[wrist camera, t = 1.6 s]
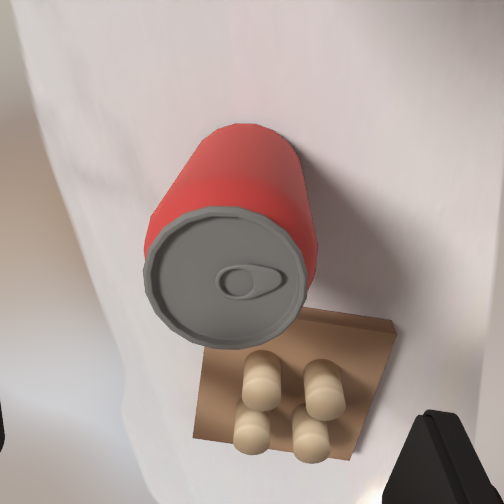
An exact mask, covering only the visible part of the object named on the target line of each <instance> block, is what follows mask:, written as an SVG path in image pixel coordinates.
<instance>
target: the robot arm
mask: <svg viewBox="0 0 504 504" xmlns="http://www.w3.org/2000/svg"><path fill="white" fill-rule="evenodd" d="M4 440H5V434H4V426H3V418H2V411H1V404H0V452H1V450H2V447H3V444H4ZM382 504H504V503H503V500H502V498H501V496H500V495H499V493H498V491H497V490H496V488H495V487H494V486H492V485H491V483H490V481H489V478H488V476H487V474H486V472H485V470H484V468H483V466H482V464H481V462H480V460H479V458H478V456H477V454H476V452H475V450H474V448H473V446H472V444H471V441H470V439H469V437H468V435H467V433H466V431H465V429H464V427H463V425H462V423H461V421H460V419H459V417H458V416H457V415H456V414H455V413H450V412H443V411H436V410H426V411H425V413H424V414H423V415H418V416H417V417H416V419H415V421H414V423H413V425H412V427H411V430H410V432H409V434H408V437H407V439H406V441H405V443H404V446H403V448H402V450H401V452H400V455H399V457H398V459H397V462H396V464H395V466H394V468H393V471H392V473H391V475H390V477H389V480H388V482H387V484H386V487H385V489H384V491H383V495H382Z"/></svg>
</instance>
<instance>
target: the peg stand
mask: <svg viewBox="0 0 504 504" xmlns="http://www.w3.org/2000/svg"><path fill="white" fill-rule="evenodd" d="M396 336H397V333H396V331H395V328H394V326H393V323H392V321H391V320H384V319H378V318H371V317H365V316H358V315H352V314H345V313H339V312H332V311H326V310H319V309H313V308H306V307H302V309H301V311H300V313H299V316H298V318H297V319H296V320H295V321H294V322H293V323H292V324H291V325H290V326H289V327H288V328H287V329H286V330H285V331H284V332H283V333H282V334H281V335H279V336H277V337H275V338H274V339H272V340H270V341H268V342H266V343H264V344H262V345H259V346H255V347H250V348H246V349H241V350H223V349H212V348H209V347H205V348H204V356H203V363H202V371H201V379H200V386H199V394H198V401H197V409H196V416H195V424H194V432H193V438H196V439H203V440H210V441H217V442H224V443H231V444H234V446H235V448H236V449H237V450H238V451H240V452H242V453H244V454H248V455H257V454H261V453H263V452H265V451H266V450H267V449H272V450H279V451H286V452H293V453H294V455H295V457H296V458H297V459H298V460H300V461H302V462H305V463H310V464H313V463H319V462H322V461H324V460H325V459H327V458H334V459H341V460H348V461H350V458H351V456H352V453H353V450H354V448H355V445H356V442H357V440H358V437H359V434H360V432H361V429H362V426H363V424H364V421H365V418H366V416H367V413H368V410H369V408H370V405H371V402H372V400H373V397H374V394H375V392H376V389H377V386H378V384H379V381H380V378H381V376H382V373H383V370H384V368H385V365H386V362H387V360H388V357H389V354H390V352H391V349H392V346H393V344H394V341H395V338H396Z"/></svg>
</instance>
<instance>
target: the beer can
mask: <svg viewBox="0 0 504 504" xmlns="http://www.w3.org/2000/svg"><path fill="white" fill-rule="evenodd" d="M317 251H318V243H317V239H316V234H315V229H314V224H313V219H312V214H311V209H310V205H309V200H308V195H307V190H306V185H305V180H304V175H303V172H302V168H301V164H300V160H299V157H298V156H297V154H296V153H295V151H294V150H293V148H292V147H291V145H290V144H289V142H288V141H286V140H285V139H284V138H282V137H281V136H280V135H279V134H277V133H276V132H275V131H273V130H271V129H268V128H265V127H262V126H260V125H257V124H232V125H229V126H226V127H223V128H220V129H217V130H216V131H214V132H213V133H212V134H210V135H209V136H208V137H206V138H205V139H204V140H202V142H201V143H200V145H199V146H198V148H197V149H196V150H195V152H194V153H193V155H192V156H191V158H190V159H189V161H188V162H187V164H186V165H185V167H184V168H183V170H182V171H181V173H180V174H179V176H178V177H177V179H176V180H175V182H174V183H173V184H172V186H171V187H170V189H169V190H168V192H167V193H166V195H165V196H164V198H163V199H162V201H161V202H160V204H159V205H158V207H157V208H156V210H155V211H154V213H153V214H152V216H151V218H150V222H149V226H148V230H147V234H146V238H145V244H144V255H145V264H144V268H143V276H144V285H145V293H146V295H147V297H148V299H149V301H150V303H151V305H152V307H153V309H154V312H155V313H156V315H157V316H158V317H159V318H160V319H161V320H162V321H163V322H164V323H165V324H166V325H167V326H168V327H169V328H170V329H171V330H172V331H173V332H175V333H177V334H178V335H180V336H182V337H183V338H185V339H187V340H188V341H190V342H192V343H195V344H199V345H202V346H205V347H209V348H212V349H223V350H241V349H246V348H250V347H255V346H259V345H262V344H264V343H266V342H268V341H270V340H272V339H274V338H275V337H277V336H279V335H281V334H282V333H283V332H284V331H285V330H286V329H287V328H288V327H289V326H290V325H291V324H292V323H293V322H294V321H295V320H296V319H297V318H298V316H299V313H300V311H301V309H302V307H303V305H304V303H305V301H306V298H307V291H308V289H309V287H310V285H311V283H312V281H313V278H314V275H315V271H316V263H317Z"/></svg>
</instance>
